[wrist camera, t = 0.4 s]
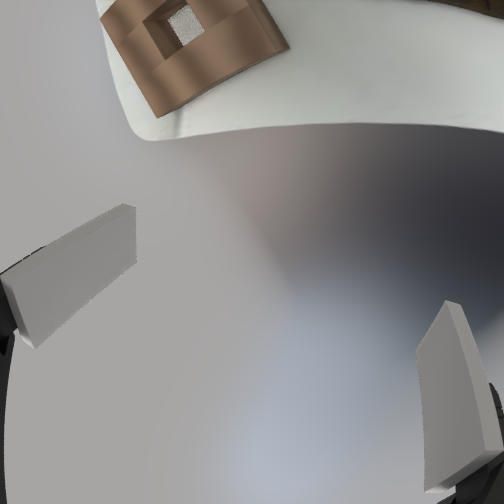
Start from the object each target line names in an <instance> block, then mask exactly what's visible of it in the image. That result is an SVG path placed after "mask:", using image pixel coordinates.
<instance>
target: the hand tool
mask: <svg viewBox="0 0 504 504" xmlns="http://www.w3.org/2000/svg"><path fill="white" fill-rule="evenodd" d="M428 1H435V2H440V3H445V4H450V5H454V6H458V7H462V8H466V9H470V10H473V11H477V12H480V13H483V14H485V15H488V16H492V17H496V18H500V19H504V0H428Z"/></svg>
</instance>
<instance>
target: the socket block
mask: <svg viewBox="0 0 504 504" xmlns="http://www.w3.org/2000/svg"><path fill="white" fill-rule="evenodd" d="M186 4H188V5H189V6H190V8H191V9H192V11H193V12H194V14H195V16H196V17H197V19H198V20H199V22H200V24H201V25H202V27H203V28H204V30H205V32H204V33H202V34H201V35H199V36H198V37H197V38H195V39H194V40H192V41H191V42H189V43H188V44H187V45H185V46H184V47H183V45H182V44H181V42H180V40H179V39H178V37H177V35H176V34H175V32H174V30H173V29H172V27H171V25H170V24H169V22H168V21H167V19H168V18H170V17H171V16H172V15H173V14H175V13H176V12H177V11H178V10H180V9H181V8H182V7H184V6H185V5H186ZM100 21H101V23H102V24H103V26H104V28H105V30H106V31H107V33H108V35H109V37H110V38H111V40H112V42H113V44H114V45H115V47H116V49H117V51H118V52H119V54H120V56H121V58H122V59H123V61H124V63H125V64H126V66H127V68H128V70H129V71H130V73H131V75H132V77H133V78H134V80H135V82H136V83H137V85H138V87H139V89H140V90H141V92H142V94H143V95H144V97H145V99H146V101H147V102H148V104H149V106H150V107H151V109H152V111H153V113H154V114H155V116H156V118H157V119H158V118H160V117H162V116H164V115H166V114H168V113H170V112H172V111H174V110H177V109H179V108H180V107H182V106H183V105H185V104H187V103H188V102H190V101H191V100H193V99H195V98H196V97H198V96H200V95H201V94H203V93H205V92H206V91H208V90H210V89H211V88H213V87H215V86H217V85H218V84H220V83H222V82H224V81H225V80H227V79H229V78H231V77H233V76H235V75H236V74H238V73H240V72H242V71H244V70H246V69H248V68H250V67H252V66H254V65H256V64H258V63H260V62H262V61H264V60H266V59H268V58H270V57H272V56H274V55H276V54H279V53H281V52H283V51H285V50H287V49H290V47H289V46H288V44H287V42H286V40H285V38H284V37H283V35H282V33H281V32H280V30H279V28H278V26H277V25H276V23H275V21H274V20H273V18H272V16H271V15H270V13H269V11H268V10H267V8H266V7H265V5H264V3H263V2H262V0H116V1H115V2H114V3H113V4H112V5H111V6H110V8H109V9H108V10H107V11H106V12H105V13H104V14H103V15H102V17H101V18H100Z"/></svg>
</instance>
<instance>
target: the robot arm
mask: <svg viewBox="0 0 504 504" xmlns="http://www.w3.org/2000/svg"><path fill="white" fill-rule="evenodd" d="M136 262H137V260H136V207H133V206H129V205H126V204H121V205H119V206H117V207H115V208H113V209H111V210H109V211H107V212H105V213H103V214H102V215H100V216H98V217H96V218H94V219H92V220H90V221H89V222H87V223H85V224H83V225H81V226H80V227H78V228H76V229H74V230H72V231H71V232H69V233H67V234H65V235H64V236H62V237H60V238H59V239H57V240H55V241H53V242H52V243H50V244H48V245H47V246H44V247H41V248H39V249H38V250H36V251H35V252H33V253H31V255H28V256H26V257H25V258H23V260H20V261H18V262H17V263H16V264H14V265H12V266H11V267H9V268H8V269H6V270H5V271H3V272H2V273H0V504H7V499H6V489H5V476H4V475H5V474H4V422H5V421H4V420H5V407H6V395H7V386H8V378H9V370H10V364H11V358H12V352H13V347H14V341H15V335H14V333H13V331H14V330H15V329H17V328H18V330H19V332H20V335H21V337H22V339H23V341H25V342H26V343H27V344H28V345H30V346H31V347H32V348H33V349H36V348H38V346H39V345H41V344H42V343H43V342H44V341H45V340H46V339H47V338H48V337H49V336H51V335H52V334H53V333H54V332H55V331H56V330H57V329H58V328H59V327H61V326H62V325H63V324H64V323H65V322H66V321H67V320H68V319H70V318H71V317H72V316H73V315H74V314H75V313H76V312H77V311H79V310H80V309H81V308H82V307H83V306H84V305H85V304H87V303H88V302H89V301H90V300H91V299H93V298H94V297H95V296H96V295H97V294H98V293H100V292H101V291H102V290H103V289H104V288H106V287H107V286H108V285H109V284H110V283H112V282H113V281H114V280H115V279H116V278H118V277H119V276H120V275H121V274H123V273H124V272H125V271H126V270H127V269H129V268H130V267H131V266H133V265H134V264H135V263H136ZM415 353H416V359H417V367H418V374H419V383H420V392H421V403H422V414H423V430H424V454H425V455H424V459H425V480H424V482H425V483H424V493H443V492H445V491H446V490H448V489H450V488H451V487H453V486H455V485H456V493H454V494H453V495H451V496H449V497H447V498H446V499H444V500H442V501H440V502H438V503H437V504H504V414H503V410H502V409H501V408H502V405H501V402H500V398H499V395H498V393H497V391H496V390H495V388H494V386H493V385H492V384H491V383H488V380H487V376H486V373H485V370H484V367H483V364H482V361H481V358H480V354H479V352H478V349H477V346H476V343H475V340H474V338H473V335H472V332H471V330H470V327H469V325H468V322H467V320H466V317H465V315H464V312H463V310H462V308H461V305H459V304H456V303H453V302H450V301H447V300H446V301H445V302H444V304H443V306H442V308H441V310H440V311H439V313H438V315H437V317H436V318H435V320H434V322H433V323H432V325H431V326H430V328H429V330H428V331H427V333H426V335H425V336H424V338H423V339H422V341H421V343H420V344H419V346H418V347H417V349H416V350H415Z"/></svg>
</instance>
